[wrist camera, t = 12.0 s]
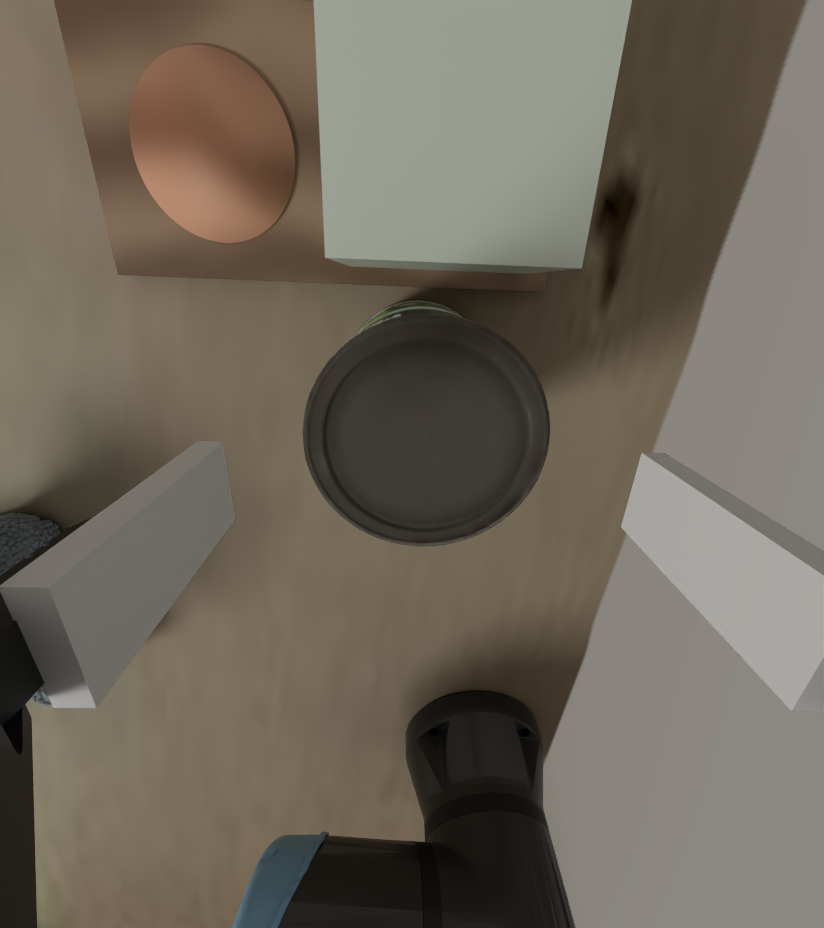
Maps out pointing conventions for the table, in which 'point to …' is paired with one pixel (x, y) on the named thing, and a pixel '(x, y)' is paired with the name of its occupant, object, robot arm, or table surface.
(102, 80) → the board
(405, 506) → the coffee can
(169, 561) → the robot arm
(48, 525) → the koala plush
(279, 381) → the table surface
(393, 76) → the pale green block
